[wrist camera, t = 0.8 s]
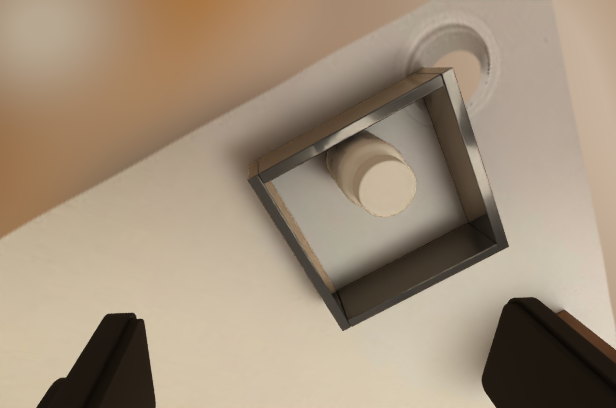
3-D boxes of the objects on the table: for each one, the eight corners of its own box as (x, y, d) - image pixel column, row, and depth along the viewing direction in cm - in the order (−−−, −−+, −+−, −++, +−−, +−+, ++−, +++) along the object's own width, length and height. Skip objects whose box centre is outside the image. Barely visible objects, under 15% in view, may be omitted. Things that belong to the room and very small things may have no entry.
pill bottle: (340, 194, 28) (369, 237, 21) (315, 146, 26) (337, 176, 19) (389, 167, 28) (435, 202, 20) (367, 118, 26) (409, 136, 19)
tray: (424, 67, 25) (453, 67, 21) (478, 225, 31) (509, 246, 27) (248, 164, 26) (247, 180, 22) (332, 300, 31) (342, 331, 28)
